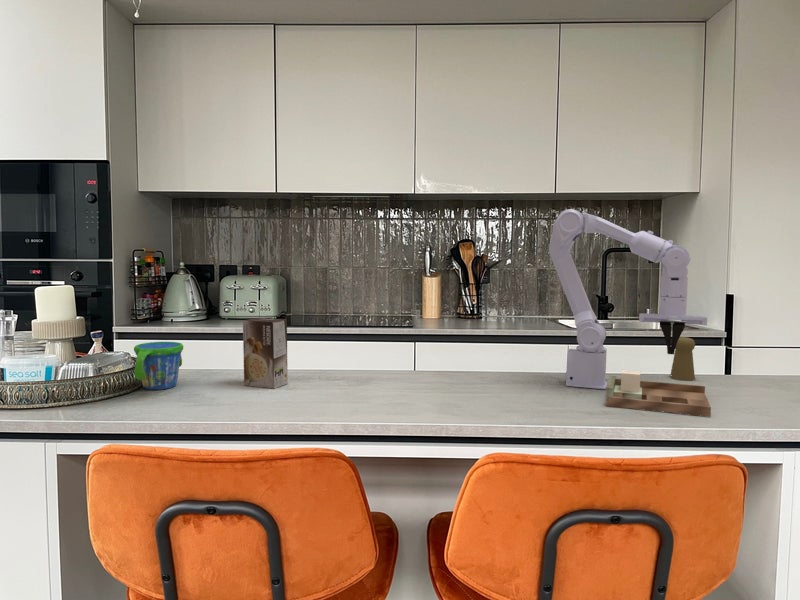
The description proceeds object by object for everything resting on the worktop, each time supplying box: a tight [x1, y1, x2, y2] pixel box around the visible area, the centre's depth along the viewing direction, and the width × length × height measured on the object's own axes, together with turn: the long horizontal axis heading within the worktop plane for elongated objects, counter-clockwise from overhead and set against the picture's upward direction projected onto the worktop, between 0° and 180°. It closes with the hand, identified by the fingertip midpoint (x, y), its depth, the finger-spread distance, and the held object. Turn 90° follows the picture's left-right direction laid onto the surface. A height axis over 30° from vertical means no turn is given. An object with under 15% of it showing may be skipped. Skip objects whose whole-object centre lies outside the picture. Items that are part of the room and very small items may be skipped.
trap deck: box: [605, 375, 712, 417], centre depth 129 cm, size 20×14×4 cm
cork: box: [669, 336, 696, 382], centre depth 157 cm, size 6×6×11 cm
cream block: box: [620, 369, 641, 392], centre depth 134 cm, size 4×4×4 cm
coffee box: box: [242, 317, 289, 389], centre depth 143 cm, size 9×6×16 cm
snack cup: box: [133, 341, 184, 391], centre depth 139 cm, size 16×10×10 cm
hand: (670, 353), depth 139 cm, fingers closed
